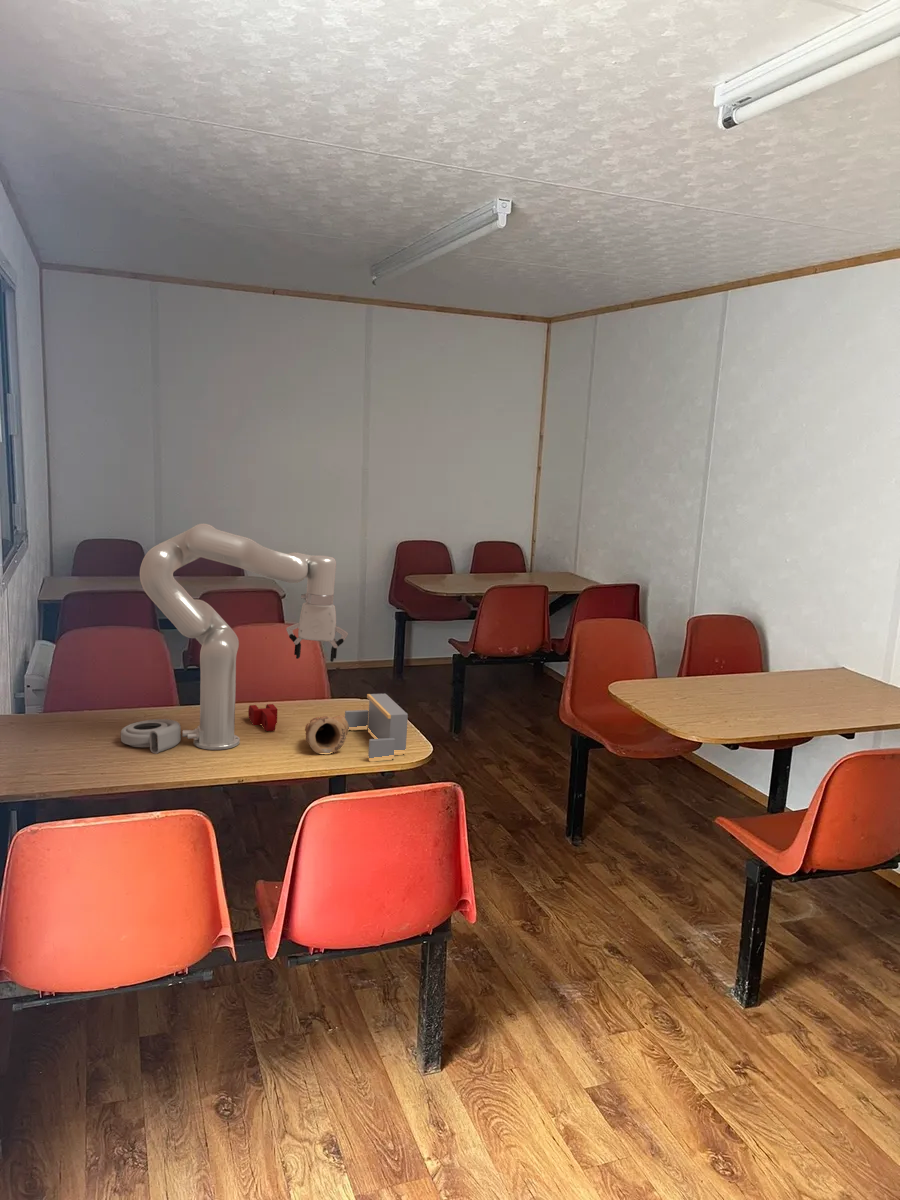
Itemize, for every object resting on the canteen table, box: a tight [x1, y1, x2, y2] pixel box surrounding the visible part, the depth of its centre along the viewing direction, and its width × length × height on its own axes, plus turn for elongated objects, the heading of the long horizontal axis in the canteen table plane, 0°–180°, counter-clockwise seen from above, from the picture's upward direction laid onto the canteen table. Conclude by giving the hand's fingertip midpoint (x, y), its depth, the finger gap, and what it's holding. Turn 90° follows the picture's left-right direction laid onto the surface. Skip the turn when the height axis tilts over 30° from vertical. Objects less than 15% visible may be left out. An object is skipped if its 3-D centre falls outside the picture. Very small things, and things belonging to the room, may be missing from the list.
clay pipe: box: [304, 714, 349, 755], centre depth 249 cm, size 19×11×15 cm
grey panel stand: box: [344, 693, 409, 758], centre depth 253 cm, size 12×29×12 cm, turn 21°
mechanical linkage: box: [247, 703, 278, 732], centre depth 265 cm, size 16×7×5 cm, turn 24°
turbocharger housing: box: [120, 718, 182, 755], centre depth 243 cm, size 17×6×15 cm
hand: (315, 659), depth 246 cm, fingers open, 9 cm apart
